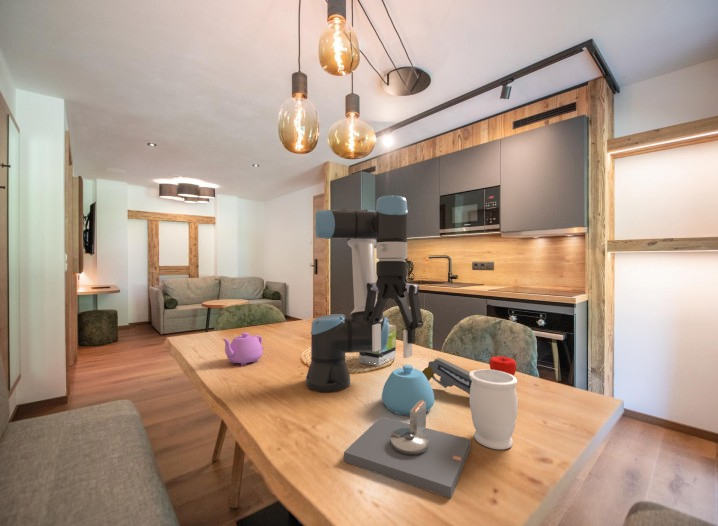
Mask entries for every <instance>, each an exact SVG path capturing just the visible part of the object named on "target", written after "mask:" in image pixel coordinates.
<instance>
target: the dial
mask: <svg viewBox="0 0 718 526" xmlns="http://www.w3.org/2000/svg"><path fill="white" fill-rule="evenodd" d="M409 424H410V428H402V429H398V430H395V431H394V432H393V433H392V434H391V446H392V448H393V449H394V450H396V451H397V452H399V453H402V454H405V455H419V454H422V453H424V452H426V451H427V450H428V437H427V435H426V434H425V433H423V430H424V429H425V428H427V412H426V402H424V401H423V400H421V401H419V402H418V403H417V404H416V405H415V406H414V407H413V408H412V409H411V411H410V415H409Z"/></svg>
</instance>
